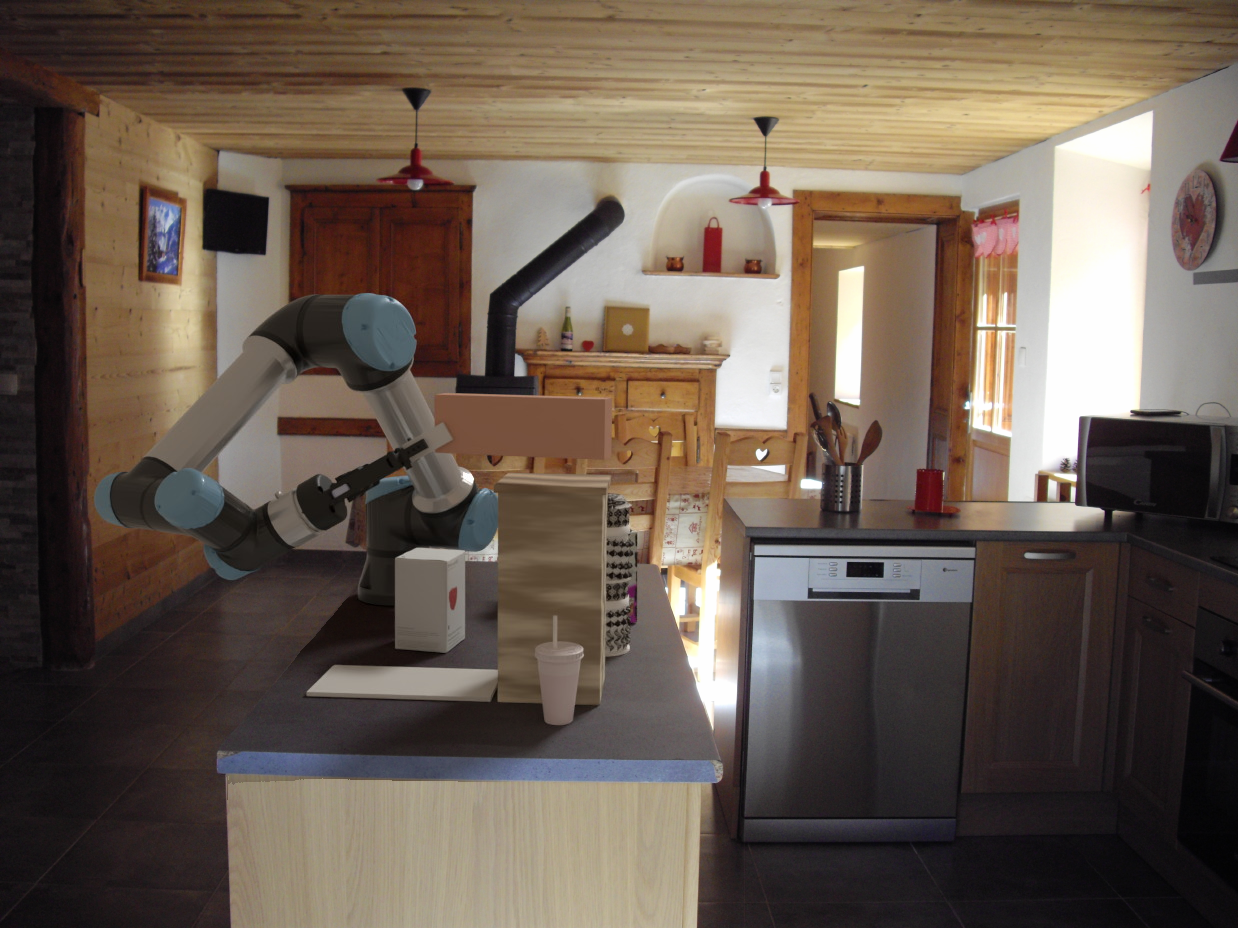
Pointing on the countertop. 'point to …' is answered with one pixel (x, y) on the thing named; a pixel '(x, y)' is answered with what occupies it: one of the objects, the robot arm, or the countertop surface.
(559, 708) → the smoothie
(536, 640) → the stand
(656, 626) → the countertop surface
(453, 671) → the mat
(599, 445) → the block
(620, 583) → the decorative candle
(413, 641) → the supplement box
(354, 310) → the robot arm
